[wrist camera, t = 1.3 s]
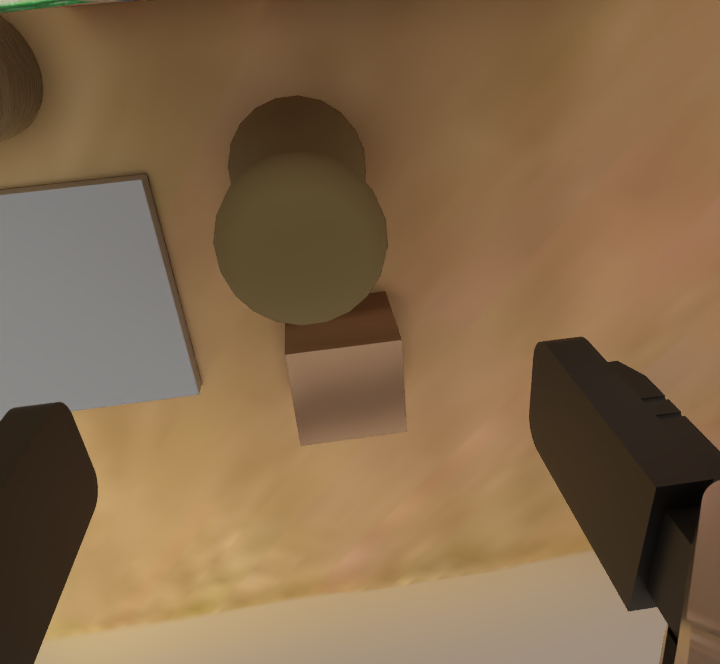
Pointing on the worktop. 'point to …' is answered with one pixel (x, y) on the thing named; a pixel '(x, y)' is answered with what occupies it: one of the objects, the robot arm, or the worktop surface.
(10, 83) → the metal tin
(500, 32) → the worktop surface
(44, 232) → the slate tile
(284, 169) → the brown rounded figure
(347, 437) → the walnut block
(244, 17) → the worktop surface
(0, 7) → the stack of blocks
